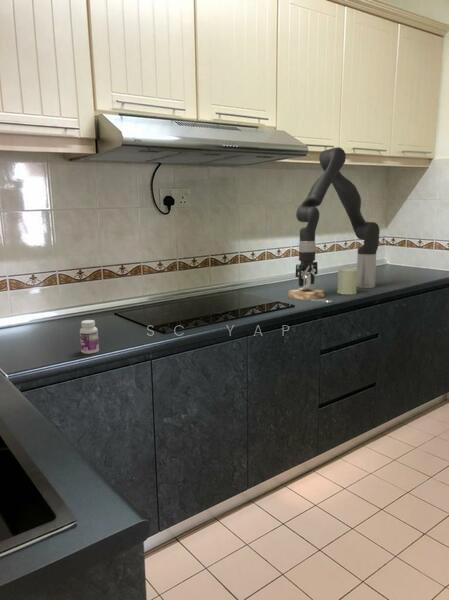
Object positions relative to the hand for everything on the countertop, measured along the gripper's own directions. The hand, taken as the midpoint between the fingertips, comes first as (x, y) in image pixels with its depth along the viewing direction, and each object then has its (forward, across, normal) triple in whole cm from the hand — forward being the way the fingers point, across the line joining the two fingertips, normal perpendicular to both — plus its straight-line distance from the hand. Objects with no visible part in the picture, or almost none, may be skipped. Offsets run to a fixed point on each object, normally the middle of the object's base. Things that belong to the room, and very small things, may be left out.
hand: (306, 285), depth 226 cm
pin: (+6, 0, 0) cm, 6 cm away
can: (+6, -21, +9) cm, 24 cm away
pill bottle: (+6, +113, -1) cm, 113 cm away
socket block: (+6, 0, 0) cm, 6 cm away
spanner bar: (+6, +4, +10) cm, 13 cm away
